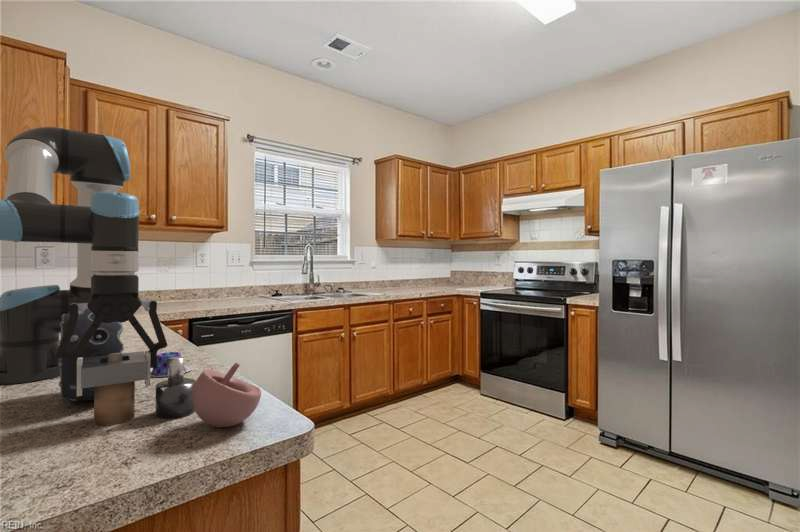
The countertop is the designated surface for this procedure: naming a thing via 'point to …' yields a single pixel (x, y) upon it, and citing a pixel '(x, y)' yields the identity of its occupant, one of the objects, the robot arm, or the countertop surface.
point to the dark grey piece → (87, 350)
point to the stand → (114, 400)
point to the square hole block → (113, 370)
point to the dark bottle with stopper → (174, 392)
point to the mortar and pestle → (224, 398)
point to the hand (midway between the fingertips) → (114, 389)
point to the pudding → (165, 364)
